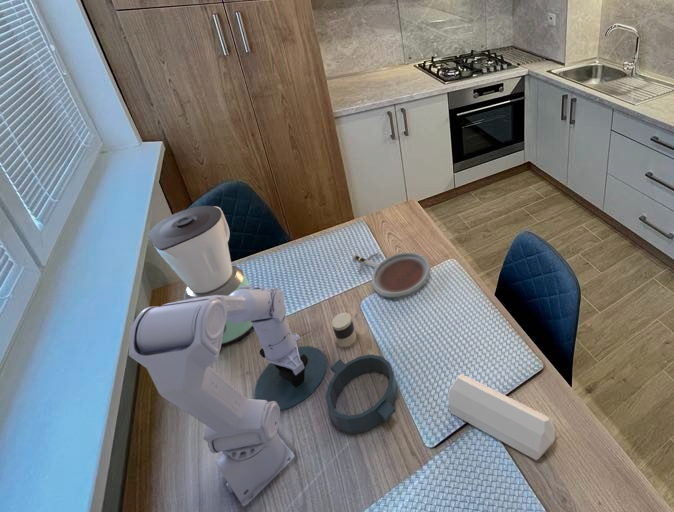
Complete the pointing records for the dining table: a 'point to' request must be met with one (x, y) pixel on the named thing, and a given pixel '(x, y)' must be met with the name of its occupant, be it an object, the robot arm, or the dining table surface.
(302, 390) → the lid
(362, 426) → the pot
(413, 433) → the dining table surface
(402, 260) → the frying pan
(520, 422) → the beveled cream prism
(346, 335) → the cylinder
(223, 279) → the blender
